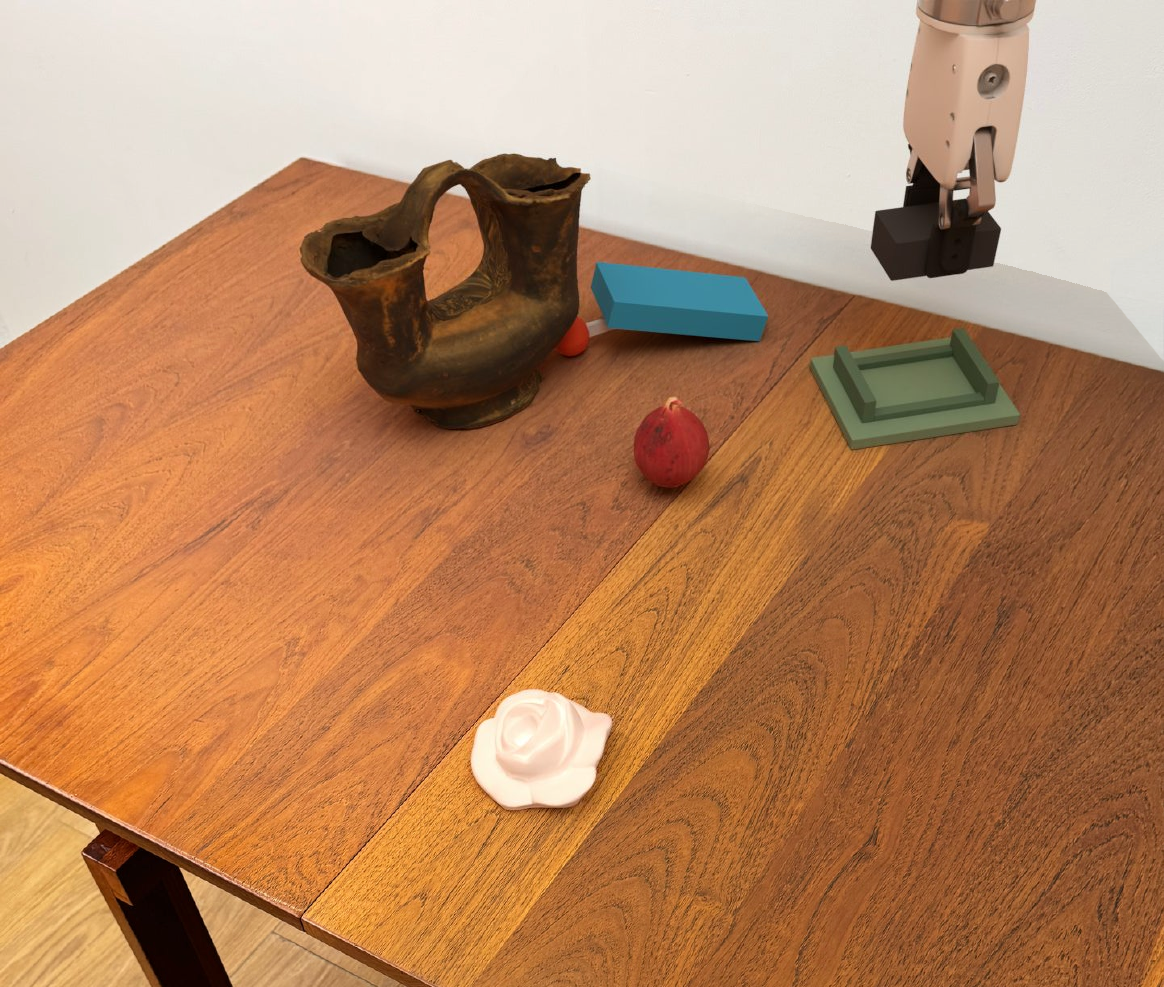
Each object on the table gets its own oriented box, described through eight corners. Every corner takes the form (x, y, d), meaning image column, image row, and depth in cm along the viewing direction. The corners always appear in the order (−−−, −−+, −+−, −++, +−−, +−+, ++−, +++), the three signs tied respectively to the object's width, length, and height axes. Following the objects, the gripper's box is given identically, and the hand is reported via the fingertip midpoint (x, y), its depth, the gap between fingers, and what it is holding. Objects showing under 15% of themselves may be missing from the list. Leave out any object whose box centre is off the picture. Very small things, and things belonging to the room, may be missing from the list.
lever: (722, 347, 119) (540, 331, 114) (745, 277, 114) (555, 257, 109) (744, 387, 115) (556, 373, 109) (768, 316, 110) (572, 298, 104)
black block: (969, 234, 97) (977, 196, 95) (993, 267, 94) (1001, 228, 92) (870, 248, 97) (875, 210, 94) (890, 281, 94) (896, 243, 91)
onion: (675, 519, 97) (675, 432, 91) (619, 490, 99) (616, 403, 93) (722, 482, 99) (725, 395, 93) (667, 454, 102) (666, 368, 96)
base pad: (965, 344, 109) (971, 313, 107) (1018, 424, 102) (1026, 393, 99) (809, 368, 108) (812, 336, 106) (850, 450, 101) (854, 419, 99)
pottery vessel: (390, 488, 101) (339, 255, 86) (319, 430, 107) (260, 201, 91) (624, 365, 110) (616, 134, 95) (548, 317, 116) (528, 92, 101)
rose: (646, 735, 77) (507, 801, 75) (648, 780, 81) (515, 844, 78) (568, 639, 83) (436, 696, 80) (572, 684, 86) (446, 741, 84)
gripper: (1088, 32, 76) (1022, 306, 90) (985, -64, 87) (941, 195, 101) (969, 47, 76) (922, 321, 90) (880, -51, 86) (850, 208, 100)
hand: (932, 252), depth 95 cm, fingers closed on black block, 5 cm apart
